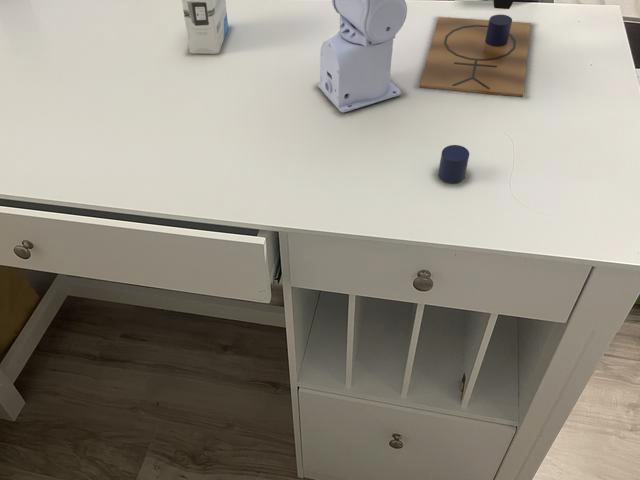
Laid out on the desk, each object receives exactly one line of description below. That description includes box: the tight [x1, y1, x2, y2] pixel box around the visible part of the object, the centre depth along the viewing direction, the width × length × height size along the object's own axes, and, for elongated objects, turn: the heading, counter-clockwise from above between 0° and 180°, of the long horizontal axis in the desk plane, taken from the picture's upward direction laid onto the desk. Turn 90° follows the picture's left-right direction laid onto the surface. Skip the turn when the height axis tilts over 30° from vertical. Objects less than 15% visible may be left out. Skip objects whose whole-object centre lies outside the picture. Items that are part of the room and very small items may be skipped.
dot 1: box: [437, 144, 470, 184], centre depth 81 cm, size 3×3×3 cm
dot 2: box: [485, 14, 513, 47], centre depth 99 cm, size 3×3×3 cm
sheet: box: [419, 16, 532, 98], centre depth 99 cm, size 20×14×1 cm
